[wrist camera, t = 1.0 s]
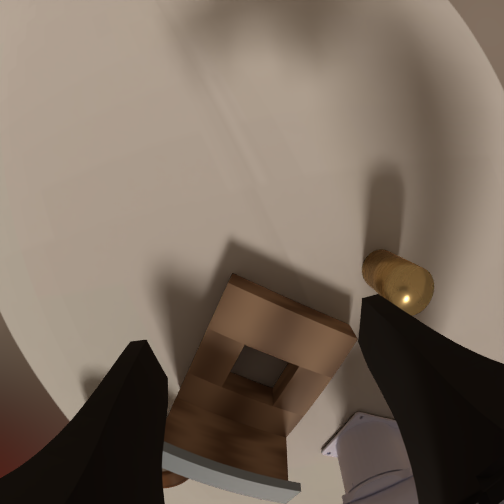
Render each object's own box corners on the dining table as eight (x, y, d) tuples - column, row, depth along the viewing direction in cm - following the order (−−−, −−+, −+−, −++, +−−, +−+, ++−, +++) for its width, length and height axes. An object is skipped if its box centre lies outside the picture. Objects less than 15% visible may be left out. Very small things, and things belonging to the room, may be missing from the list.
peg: (403, 259, 25) (441, 278, 18) (385, 293, 25) (418, 322, 18) (373, 242, 24) (407, 258, 18) (355, 278, 25) (382, 305, 18)
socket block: (353, 326, 26) (394, 395, 15) (283, 427, 29) (285, 503, 18) (227, 270, 26) (199, 321, 15) (175, 387, 28) (141, 458, 18)
